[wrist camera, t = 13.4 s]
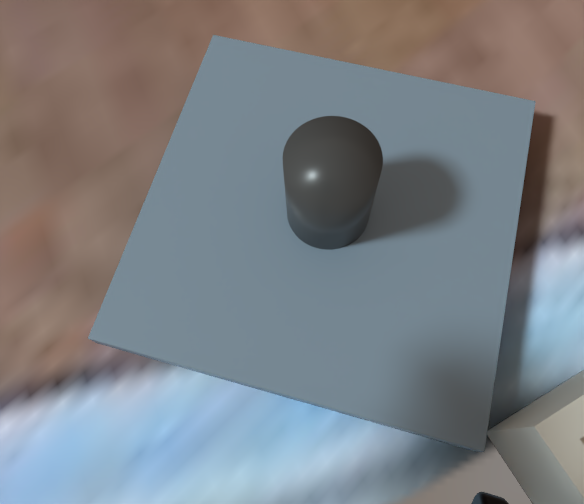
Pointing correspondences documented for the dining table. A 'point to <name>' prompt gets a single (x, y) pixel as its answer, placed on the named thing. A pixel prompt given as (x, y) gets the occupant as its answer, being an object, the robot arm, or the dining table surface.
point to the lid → (330, 239)
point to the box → (547, 444)
